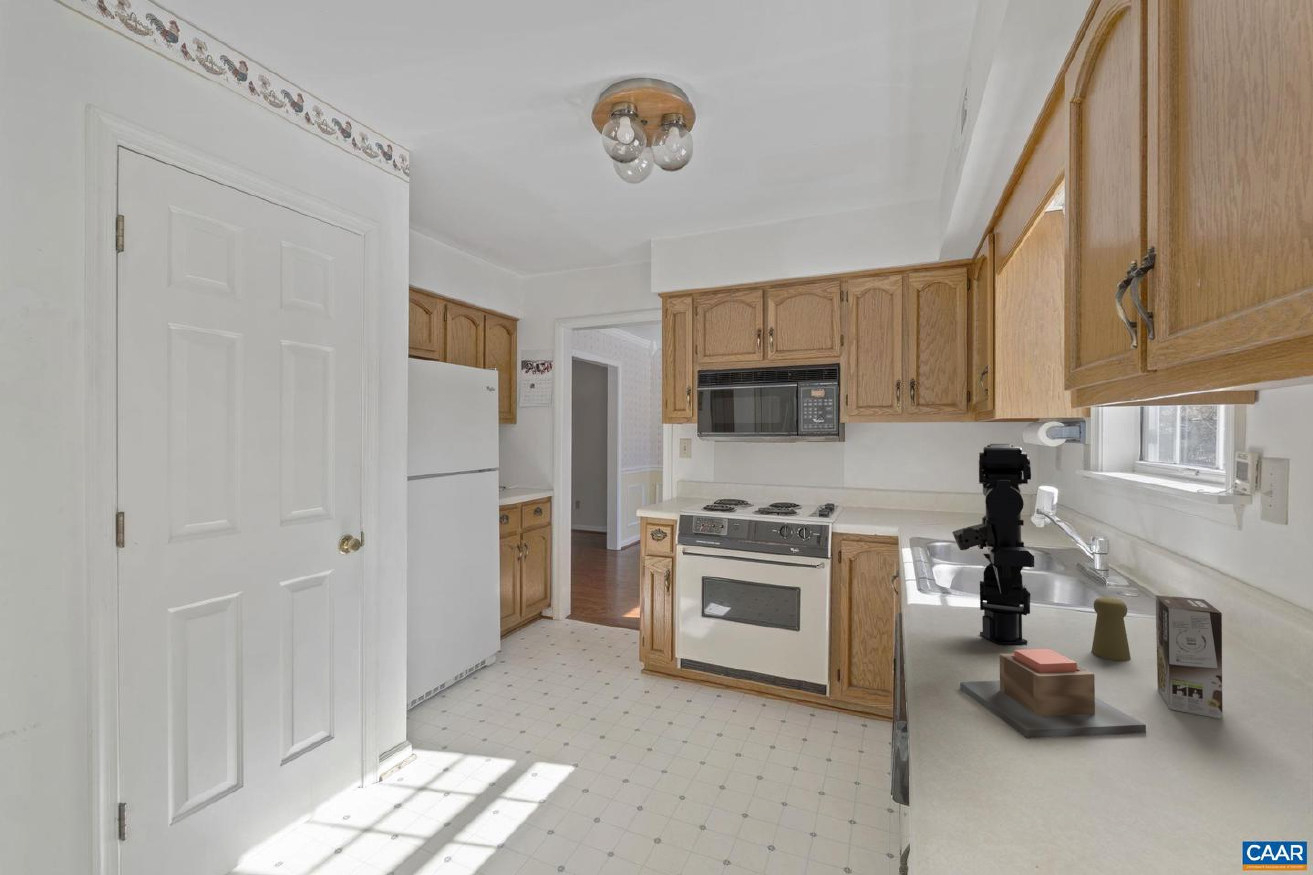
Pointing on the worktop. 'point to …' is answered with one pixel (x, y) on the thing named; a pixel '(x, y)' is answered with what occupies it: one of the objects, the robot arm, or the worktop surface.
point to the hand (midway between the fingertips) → (1004, 594)
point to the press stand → (1049, 702)
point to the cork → (1110, 630)
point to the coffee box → (1189, 655)
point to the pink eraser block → (1045, 660)
